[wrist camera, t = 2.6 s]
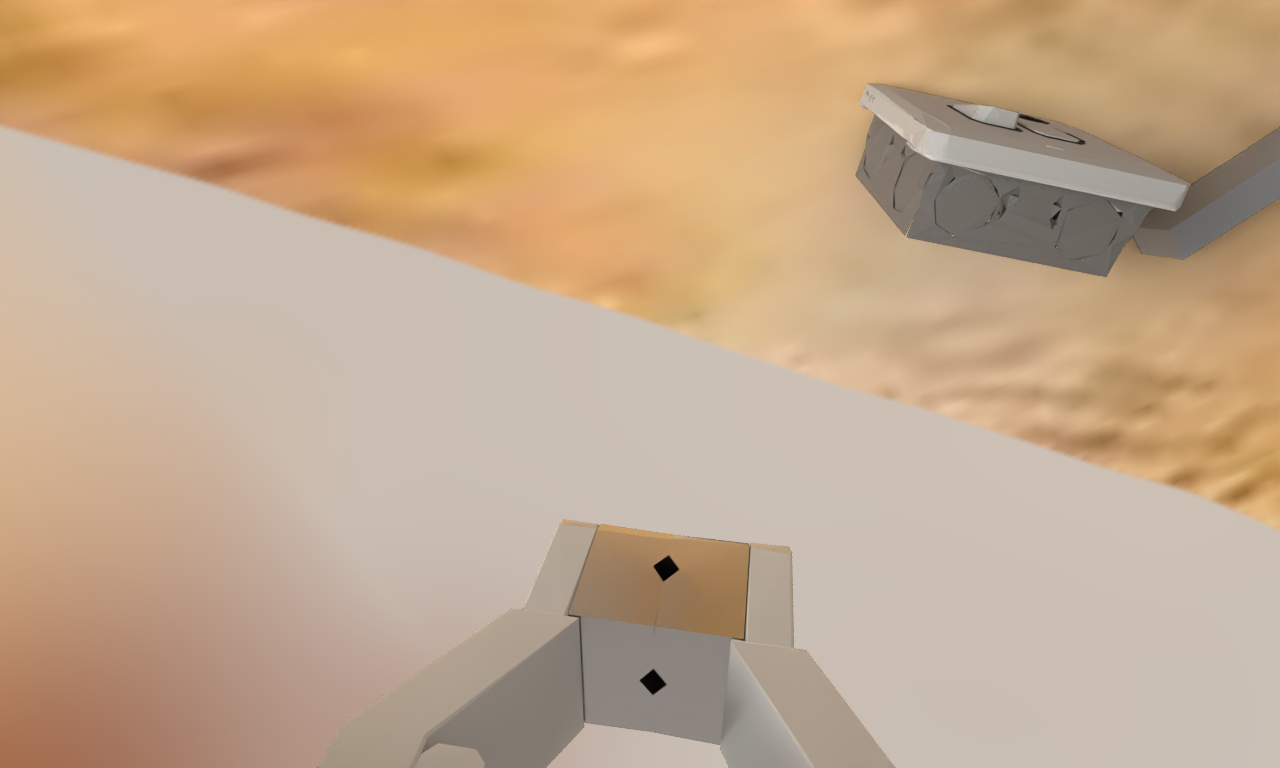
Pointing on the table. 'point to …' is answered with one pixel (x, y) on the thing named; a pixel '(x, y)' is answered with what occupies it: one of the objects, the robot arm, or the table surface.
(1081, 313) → the table surface
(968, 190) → the electrical switch
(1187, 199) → the frame
